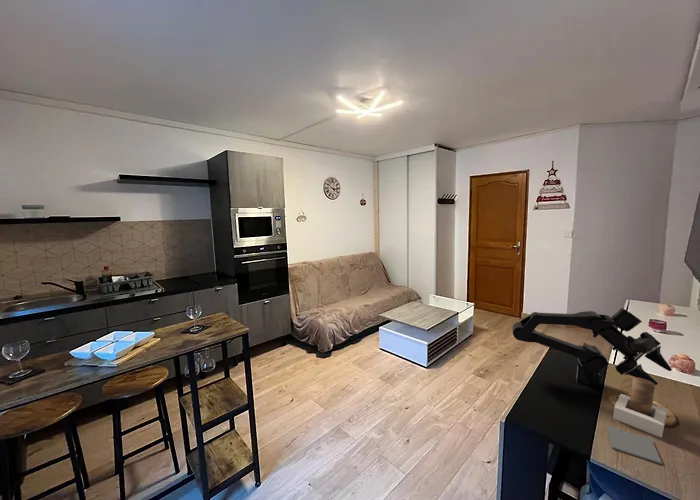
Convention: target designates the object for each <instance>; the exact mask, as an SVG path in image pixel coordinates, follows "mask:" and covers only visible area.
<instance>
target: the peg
mask: <svg viewBox="0 0 700 500" xmlns="http://www.w3.org/2000/svg"><path fill="white" fill-rule="evenodd" d="M655 387H656V385H655V384H654V383H653V382H651V381H649V380H646V379H643V378H637V377H633V378H632V382H631V393H630V397H631V399H630V407H629V409H630V410H633V411H636V412H638V413H641V414H644V415H647V416H649V417H651V412H652V405H654V404H653V403H654V397H655V389H656V388H655Z"/></svg>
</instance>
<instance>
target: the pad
mask: <svg viewBox="0 0 700 500" xmlns="http://www.w3.org/2000/svg"><path fill="white" fill-rule="evenodd" d="M606 430H607V434H608V437H609V441H610V446H611V449H613V450H616V451H619V452H620V453H621V452H622V453H624V454H628V455H631V456H634V457H637V458H640V459H643V460H646V461H649V462H653V463H655V464H658V465H662V466H663V462H662V460H661V457H660V455H659V452H658V450H657V448H656V446H655V443H654V441H653V438H649V437H646V436H642V435H639V434H635V433H632V432H629V431H626V430H625V431H624V430H622V429H619V428H615V427H612V426H609V425H606Z"/></svg>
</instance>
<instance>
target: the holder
mask: <svg viewBox="0 0 700 500" xmlns="http://www.w3.org/2000/svg"><path fill="white" fill-rule="evenodd" d="M630 399H631V396H629V395H625V394H623V393H620V395H619V396H618V398H617V401H616V402H615V405H614V407H613V414H612V415H613V416H612V420H615V421H618V422H621V423H623V424H625V425H628V426H630V427H633V428H636V429H639V430H640V431H643V432H646V433H649V434H651V435H653V436H657V437H659V438H661V439H662V438H663V435H664V429H665V425H666V419H667V414H668V413H667V411H668V409H667V408H663V407H661V406H657V405H654V404H652V412H651V417H649V416H647V415H644V414H641V413H638V412H636V411H633V410H630V409H629V407H630Z"/></svg>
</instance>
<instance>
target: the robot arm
mask: <svg viewBox="0 0 700 500" xmlns="http://www.w3.org/2000/svg"><path fill="white" fill-rule="evenodd" d="M641 323H643V321H642V320H641V319H639V318H638V317H637V316H636V315H634V313H631V311H630V312H629V311H628V310H627V309H625V308H624V307H621V308H620V309H619V310H618V311H616V313H614V314H613V315H611V316H610V315H608V314H600V313H599V314H598V312H596V311H592V310H588V311H580V312H579V311H578V312H576V313H555V312H554V313H553V312H537V311H534V312H533V311H532V312H531V313H530V314H529V315H528V316H525V317H524V318H522V319H521V320H520V321H518V322H515V323H513V325H512V327H511V329H512V335H513V337H514V339H515V340H517V341H520V342H525V343H536V344H539V345H542V346H544V347H546V348H550V349H553V350H555V351H558V352H561V353H563V354H566V355H568V356H572V357H575V358H576V359H577V362H578V363H577V366H576V367H577V368H576V375H575V380H576V384H579V385H583V386H586V387H589V388H590V387H591V388H593V389H594V388H595V389H599V385H600V382H601V380H600V379H601V374H600V372H601V371H602V369H604V368H606V367H607V364H608V360H607V358H606V356H605V355H604V354H603V352H602V351H601V350H600V349H599V348H598V347H597V346H596V345H591V344H588V343H586V342H583V344H582V345H578V344H574V343H570V342H568V341H565V340H562V339H559V338H557V337H554V336H552V335H548V334H545V333H542V332H540V331H537V330H536V328H537V327H538V326H539V325H558V326H572V327H573V326H575V327H578V328H581V329H586V330H591V332H592V337H593V338H597V337H598V336H600V337H601V338H603V340H605V341H606V342H607V343H608V344H609V345H611V346H612V347H611V349H612V350H613V352H615V351H616V350H617V352H619V353H620V354H621V355H622V356H623V357H622V359H623V360H621V362H619V363H617V365H616V366H615V371H616V372H617V373H619V375H620V376H622V375H625V376H627V375H629V376H630V377H631V376H632V377H633V378H643V379H646V380H649V381H651V382H653V383H654V384H655V386H657V385H659V382H657V381H656V379H654V378H653V377H652V376H651V375H649V373H648V372H646V371H645V370H644V369H643V366H642V364H641V363H640V364H638V361H639V359H641V358H642V357H643V356H644V357H645V358H646V359H648V360H650V361H651V362H653V363H654V364H656V365H658V366H659V367H661V368H662V369H664V370H666V371H668V372H672V370H673V369H672V367H671V366H670V365H669V363H668V362H667V360H666V359H665V358H664V357H663V355H662V354H661V349H662V347H661V342H659V341H658V340H657V339H656V337H654V336H653V335H652V334H651V333H649V332H647V331H645V332H642V333H640V335H639V337H637V338H635V337H633V336H631V335H628V336H627V335H625V334H624V333H623V332H624V331H625V332H626V333H627V332H630V331H632V330H633V329H634V328H635V327H637V326H638V325H640V324H641ZM621 331H622V332H621Z"/></svg>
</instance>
